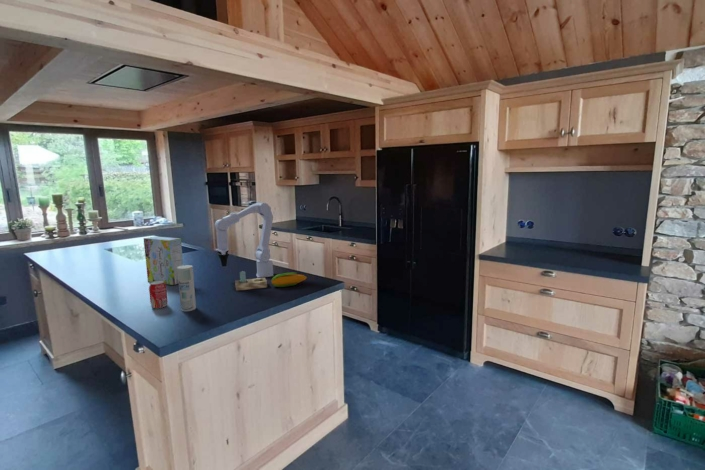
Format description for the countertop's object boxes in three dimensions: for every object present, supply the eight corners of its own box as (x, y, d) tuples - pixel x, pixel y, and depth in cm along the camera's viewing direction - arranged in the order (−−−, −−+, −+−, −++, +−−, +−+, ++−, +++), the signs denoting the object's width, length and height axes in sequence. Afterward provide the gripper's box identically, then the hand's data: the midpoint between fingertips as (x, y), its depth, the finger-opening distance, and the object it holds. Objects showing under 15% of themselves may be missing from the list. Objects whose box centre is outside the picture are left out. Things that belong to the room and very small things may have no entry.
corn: (269, 272, 203) (304, 268, 212) (269, 285, 205) (304, 280, 214) (272, 277, 197) (308, 272, 205) (272, 290, 199) (308, 285, 207)
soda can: (155, 304, 178) (152, 280, 176) (170, 303, 178) (168, 279, 176) (148, 309, 171) (145, 284, 169) (164, 309, 171) (161, 284, 169)
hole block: (265, 283, 209) (265, 277, 209) (267, 287, 202) (266, 281, 201) (235, 286, 204) (235, 280, 203) (236, 291, 196) (235, 284, 196)
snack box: (186, 282, 214) (182, 237, 210) (173, 286, 206) (168, 240, 202) (159, 277, 223) (155, 235, 219) (146, 281, 215) (141, 237, 211)
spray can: (198, 306, 175) (194, 264, 171) (193, 311, 168) (189, 268, 165) (184, 306, 175) (180, 265, 171) (178, 311, 168) (174, 268, 165)
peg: (241, 287, 203) (240, 271, 202) (247, 287, 203) (246, 271, 201) (239, 288, 200) (238, 272, 199) (245, 289, 200) (244, 272, 198)
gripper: (214, 239, 214) (216, 262, 216) (214, 243, 200) (216, 268, 203) (227, 238, 216) (229, 261, 218) (228, 242, 203) (230, 267, 205)
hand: (224, 264), depth 211 cm, fingers open, 7 cm apart
